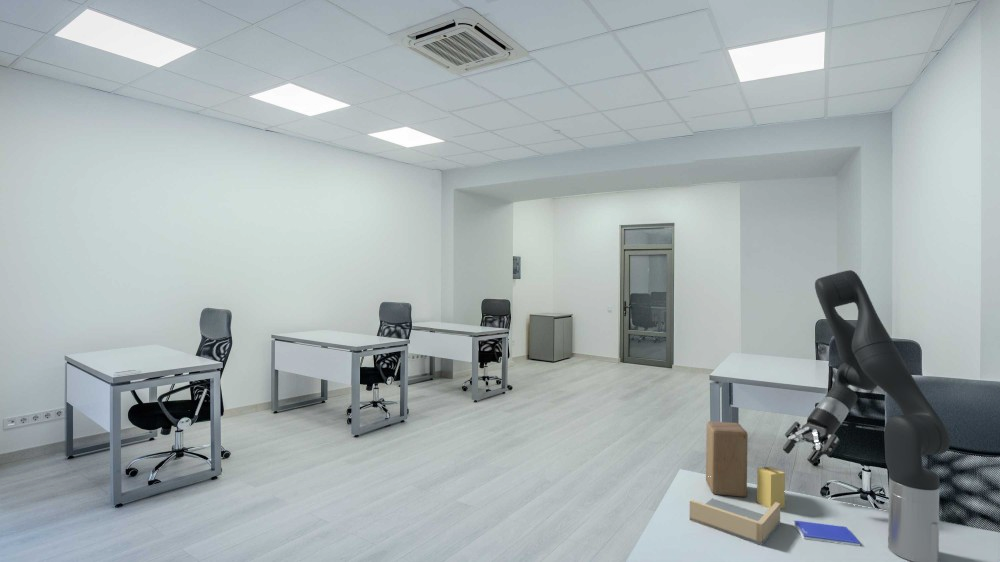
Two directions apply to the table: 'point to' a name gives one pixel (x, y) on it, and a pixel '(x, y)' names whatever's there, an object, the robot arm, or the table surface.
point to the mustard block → (770, 486)
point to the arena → (736, 519)
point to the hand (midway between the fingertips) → (797, 456)
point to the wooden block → (726, 458)
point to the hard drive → (825, 533)
